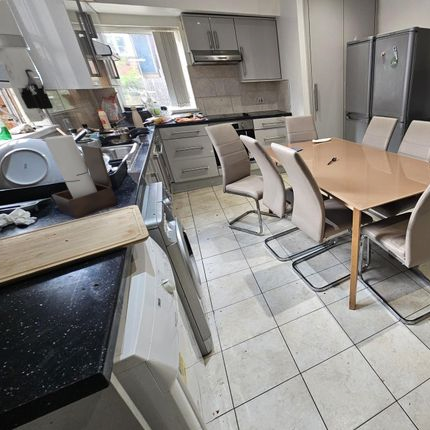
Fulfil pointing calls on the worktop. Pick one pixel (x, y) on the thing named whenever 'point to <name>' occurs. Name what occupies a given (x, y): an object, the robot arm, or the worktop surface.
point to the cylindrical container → (71, 165)
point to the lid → (96, 164)
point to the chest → (85, 201)
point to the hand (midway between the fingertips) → (40, 108)
